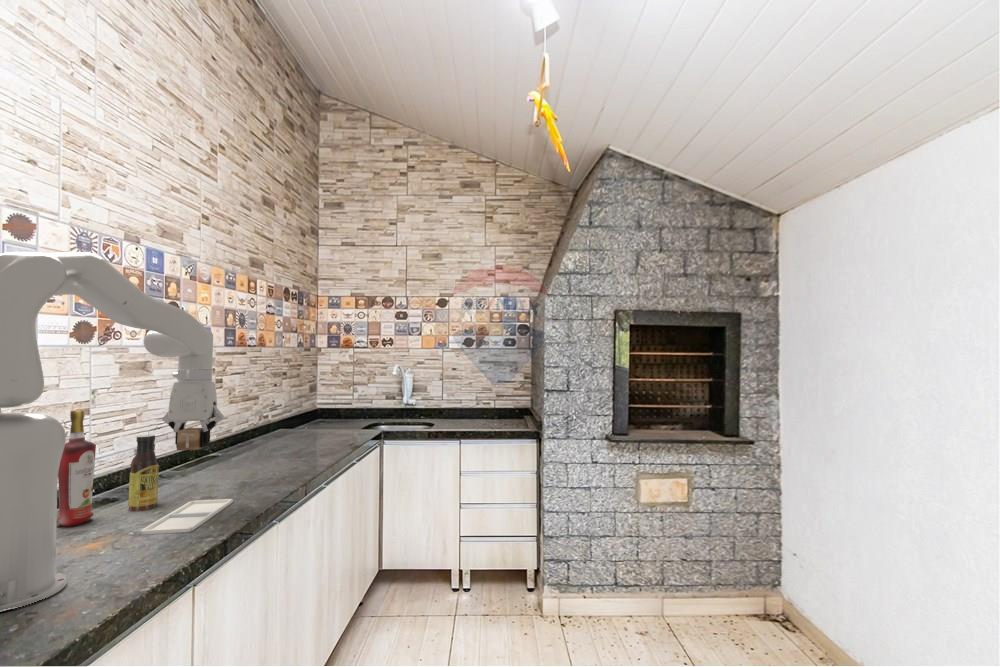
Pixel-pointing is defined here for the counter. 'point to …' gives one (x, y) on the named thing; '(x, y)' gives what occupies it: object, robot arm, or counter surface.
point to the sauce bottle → (143, 476)
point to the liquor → (76, 475)
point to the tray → (187, 517)
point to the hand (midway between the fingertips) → (192, 446)
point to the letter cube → (189, 439)
